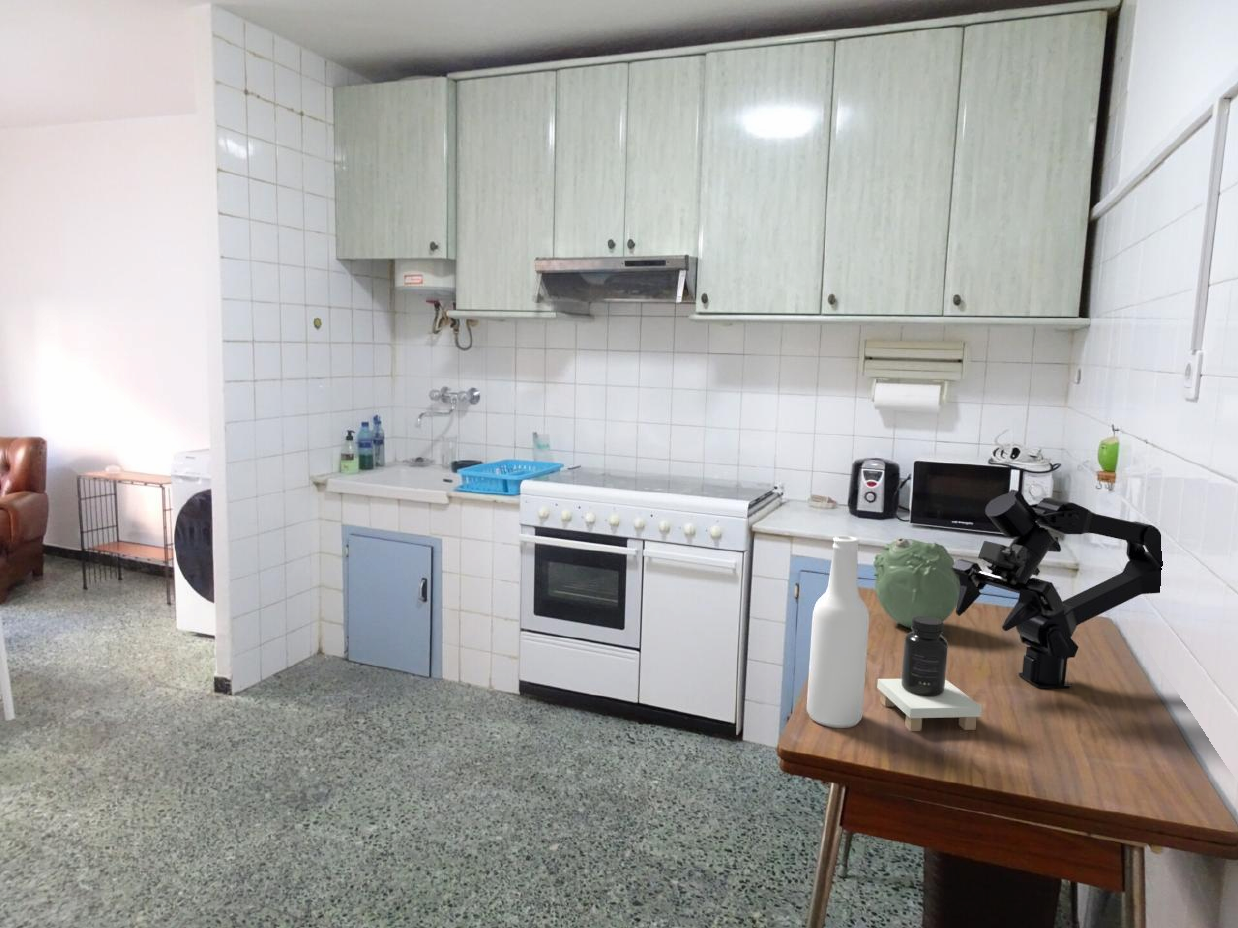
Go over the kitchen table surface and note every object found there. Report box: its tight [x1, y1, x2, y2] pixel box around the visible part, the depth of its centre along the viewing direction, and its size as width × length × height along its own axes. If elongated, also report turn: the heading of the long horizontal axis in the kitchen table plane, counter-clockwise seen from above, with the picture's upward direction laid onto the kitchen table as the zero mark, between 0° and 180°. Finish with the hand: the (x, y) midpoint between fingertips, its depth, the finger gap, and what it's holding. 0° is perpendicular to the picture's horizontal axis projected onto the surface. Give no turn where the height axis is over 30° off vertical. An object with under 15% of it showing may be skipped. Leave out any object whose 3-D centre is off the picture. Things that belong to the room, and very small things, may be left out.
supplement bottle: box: [901, 616, 949, 696], centre depth 136 cm, size 7×7×12 cm
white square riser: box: [876, 678, 983, 732], centre depth 136 cm, size 12×12×4 cm
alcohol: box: [806, 535, 870, 729], centre depth 132 cm, size 9×9×30 cm
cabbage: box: [872, 538, 960, 629], centre depth 181 cm, size 16×19×20 cm
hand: (980, 621), depth 143 cm, fingers open, 9 cm apart
